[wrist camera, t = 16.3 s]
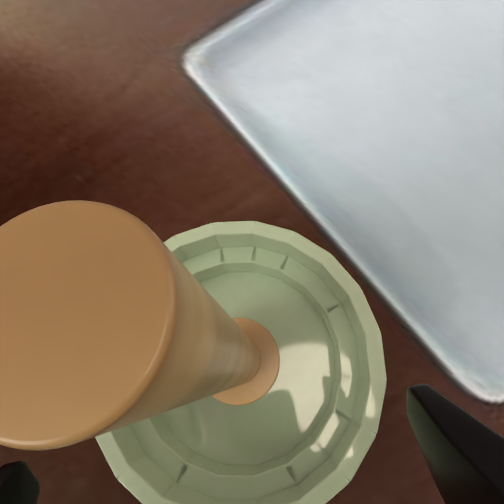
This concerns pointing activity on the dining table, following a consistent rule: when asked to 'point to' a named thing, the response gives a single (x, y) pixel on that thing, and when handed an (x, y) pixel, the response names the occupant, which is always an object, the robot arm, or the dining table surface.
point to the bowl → (283, 390)
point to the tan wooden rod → (110, 329)
